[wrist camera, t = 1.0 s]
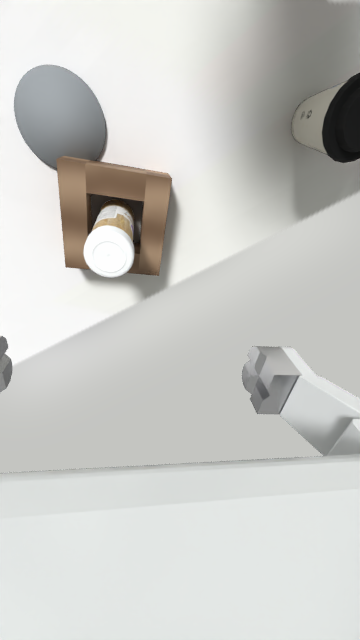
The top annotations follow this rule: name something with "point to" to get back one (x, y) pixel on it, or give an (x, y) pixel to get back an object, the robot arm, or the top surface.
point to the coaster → (59, 115)
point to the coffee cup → (331, 121)
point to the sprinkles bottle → (111, 240)
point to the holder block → (112, 181)
